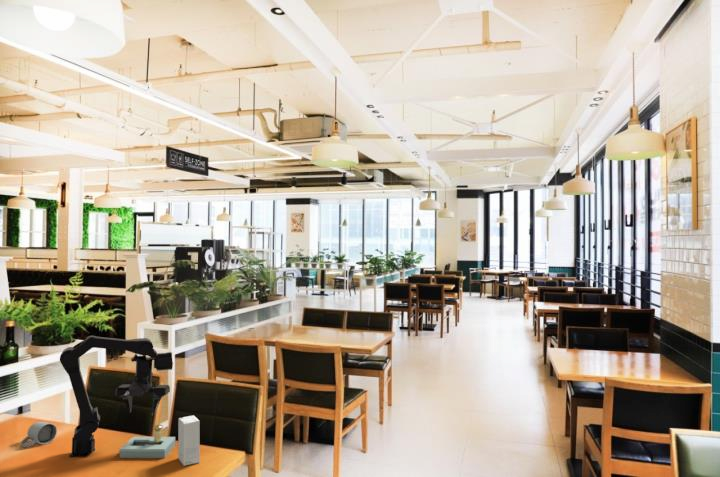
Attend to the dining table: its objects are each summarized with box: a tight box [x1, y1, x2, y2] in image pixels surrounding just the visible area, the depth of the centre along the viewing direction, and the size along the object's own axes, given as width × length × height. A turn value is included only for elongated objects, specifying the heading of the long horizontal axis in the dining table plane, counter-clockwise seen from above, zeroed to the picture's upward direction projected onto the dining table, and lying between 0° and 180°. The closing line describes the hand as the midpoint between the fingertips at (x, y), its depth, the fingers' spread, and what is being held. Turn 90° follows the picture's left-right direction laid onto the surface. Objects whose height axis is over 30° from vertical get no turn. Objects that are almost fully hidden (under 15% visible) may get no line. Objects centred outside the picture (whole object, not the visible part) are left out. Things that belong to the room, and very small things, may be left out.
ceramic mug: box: [20, 421, 58, 448], centre depth 189 cm, size 11×8×8 cm
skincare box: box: [177, 415, 201, 467], centre depth 177 cm, size 8×6×15 cm
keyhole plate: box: [119, 436, 176, 459], centre depth 184 cm, size 16×12×3 cm
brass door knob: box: [152, 424, 164, 445], centre depth 184 cm, size 5×5×9 cm
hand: (142, 412), depth 190 cm, fingers open, 9 cm apart
